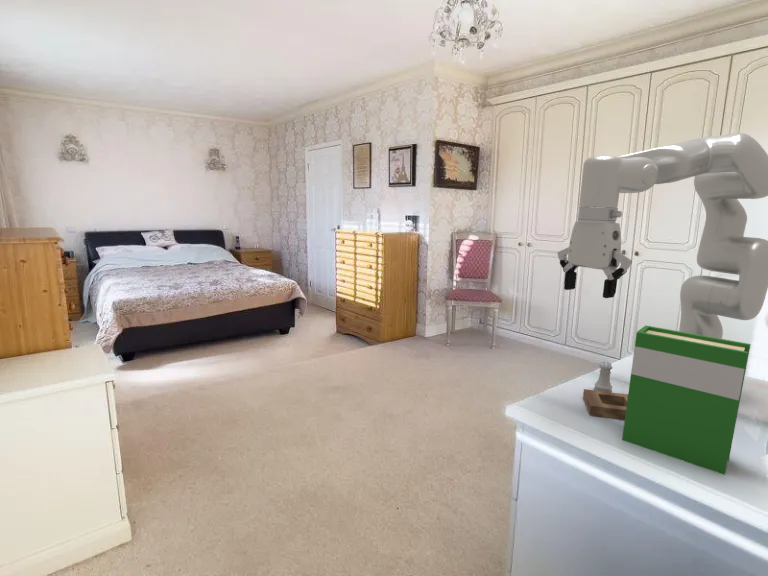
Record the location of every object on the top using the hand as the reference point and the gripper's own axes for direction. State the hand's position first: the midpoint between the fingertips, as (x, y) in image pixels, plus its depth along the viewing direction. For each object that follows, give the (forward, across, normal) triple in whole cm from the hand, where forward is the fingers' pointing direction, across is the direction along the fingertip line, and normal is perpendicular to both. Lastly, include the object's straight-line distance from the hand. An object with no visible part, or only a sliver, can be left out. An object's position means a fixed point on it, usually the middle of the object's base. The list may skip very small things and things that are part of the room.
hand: (588, 293), depth 99 cm
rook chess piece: (+30, +6, -20) cm, 37 cm away
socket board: (+30, -4, -13) cm, 33 cm away
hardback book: (+30, -19, -6) cm, 36 cm away
